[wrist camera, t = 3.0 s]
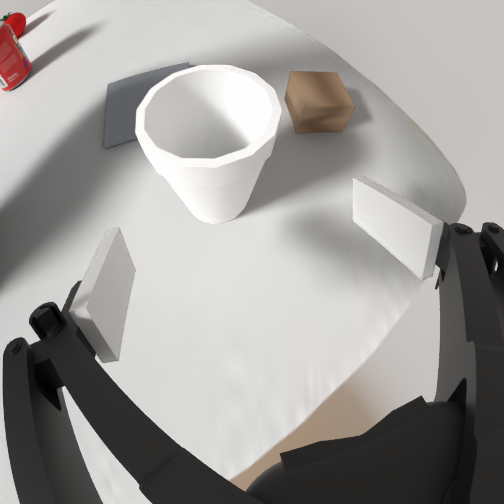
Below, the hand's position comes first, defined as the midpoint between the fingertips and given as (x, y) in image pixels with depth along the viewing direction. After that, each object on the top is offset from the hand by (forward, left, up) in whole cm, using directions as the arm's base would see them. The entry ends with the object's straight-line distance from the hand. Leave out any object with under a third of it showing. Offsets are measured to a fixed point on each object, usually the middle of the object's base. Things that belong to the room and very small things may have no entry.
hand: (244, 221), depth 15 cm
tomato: (-72, +57, -13) cm, 93 cm away
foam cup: (-3, +7, -13) cm, 15 cm away
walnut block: (+7, +20, -13) cm, 25 cm away
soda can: (-49, +32, -13) cm, 60 cm away
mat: (-14, +20, -12) cm, 28 cm away
